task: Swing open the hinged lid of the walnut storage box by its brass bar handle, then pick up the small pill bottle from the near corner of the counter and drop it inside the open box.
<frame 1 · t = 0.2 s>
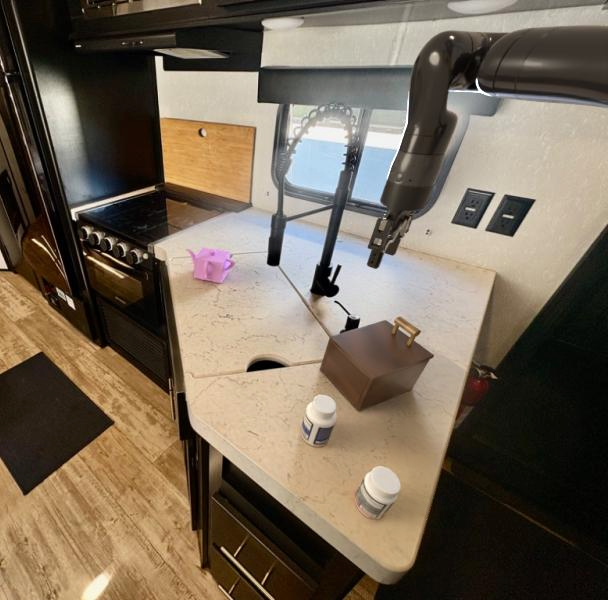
hand: (381, 260, 64), 26 cm above the worktop, tool pointing down, fingers open, 8 cm apart
lid: (383, 339, 65), point 12 cm above the worktop, hinge at 0.0°
pill bottle 2: (368, 503, 51), on the worktop
chest: (364, 379, 72), on the worktop
teapot: (210, 275, 111), on the worktop
pill bottle: (313, 434, 61), on the worktop
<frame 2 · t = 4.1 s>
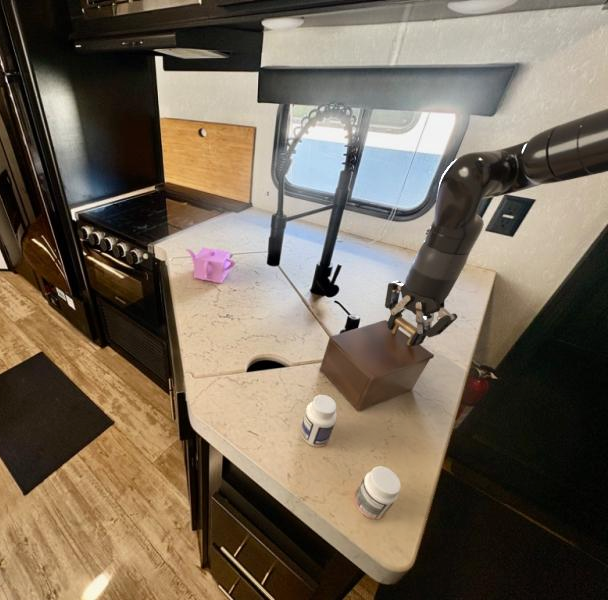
hand: (402, 335, 68), 12 cm above the worktop, tool pointing down, fingers closed on lid, 5 cm apart
lid: (383, 339, 65), point 12 cm above the worktop, hinge at 0.0°, touching gripper
everything else where it was.
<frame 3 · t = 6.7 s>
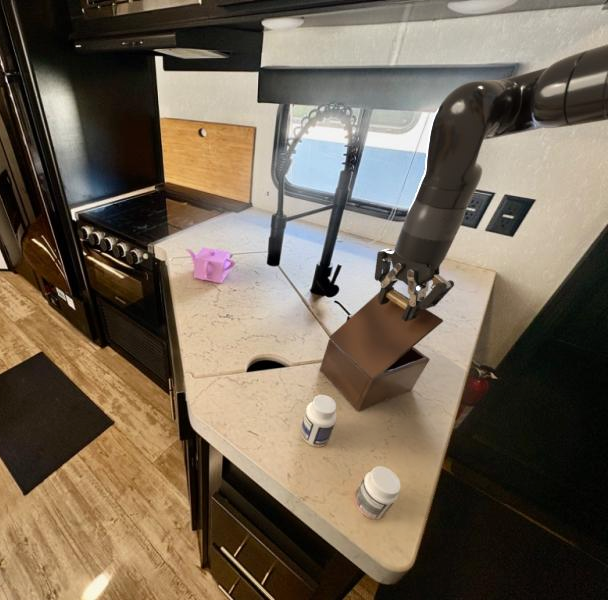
hand: (394, 310, 61), 20 cm above the worktop, tool pointing down, fingers closed on lid, 5 cm apart
lid: (377, 325, 61), point 17 cm above the worktop, hinge at 41.8°, touching gripper
everything else where it was.
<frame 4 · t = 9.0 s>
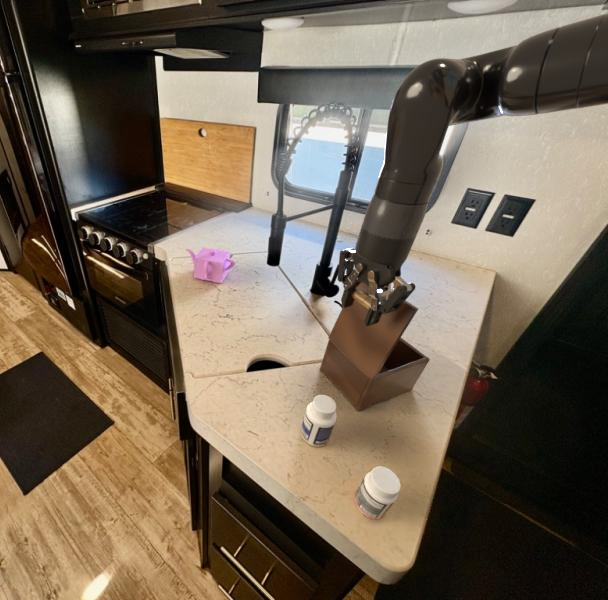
hand: (357, 314, 57), 22 cm above the worktop, tool pointing down, fingers closed on lid, 5 cm apart
lid: (358, 326, 59), point 19 cm above the worktop, hinge at 80.1°, touching gripper
everything else where it was.
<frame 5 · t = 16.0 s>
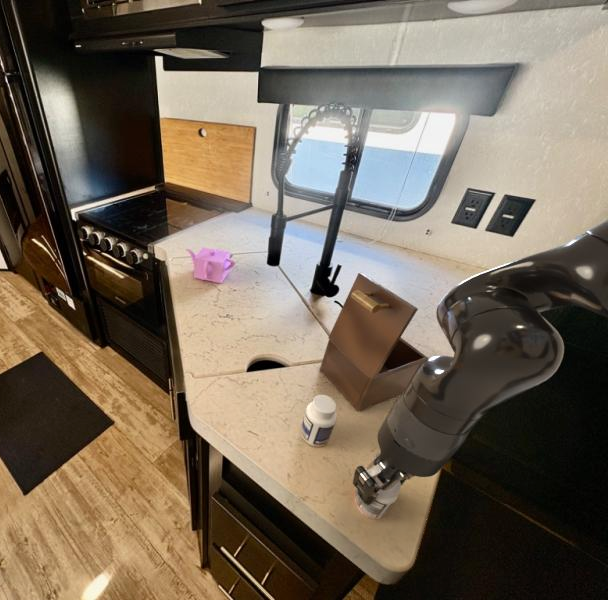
hand: (377, 491, 49), 4 cm above the worktop, tool pointing down, fingers closed on pill bottle 2, 4 cm apart
lid: (358, 326, 59), point 19 cm above the worktop, hinge at 80.4°
pill bottle 2: (368, 503, 51), on the worktop, touching gripper
everything else where it was.
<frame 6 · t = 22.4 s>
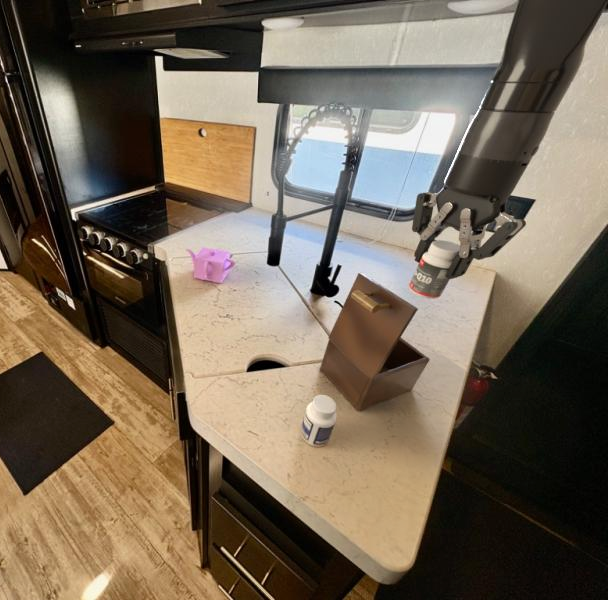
hand: (435, 268, 49), 33 cm above the worktop, tool pointing down, fingers closed on pill bottle 2, 4 cm apart
pill bottle 2: (423, 292, 52), point 28 cm above the worktop, touching gripper
everything else where it was.
when the fingers open (8 cm above the worktop, at t = 29.0 s): pill bottle 2 drops 3 cm, resting on chest.
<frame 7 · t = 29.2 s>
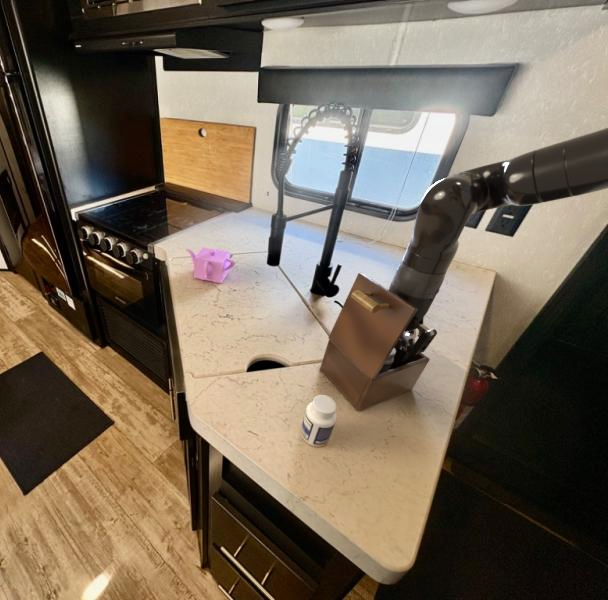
hand: (384, 349, 68), 9 cm above the worktop, tool pointing down, fingers open, 6 cm apart
pill bottle 2: (373, 374, 73), point 1 cm above the worktop, touching chest
everything else where it was.
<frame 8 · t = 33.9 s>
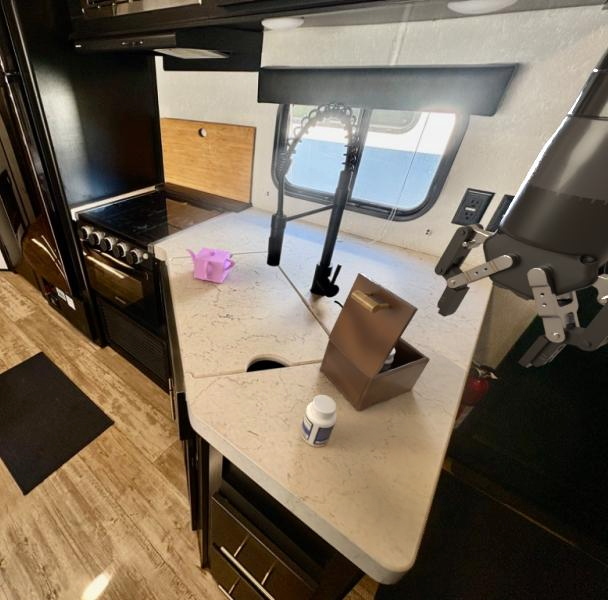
hand: (482, 336, 34), 34 cm above the worktop, tool pointing down, fingers open, 8 cm apart
nothing on the worktop moved.
at the end: lid at +80° (first picture: +0°); pill bottle 2 inside the target area in the chest (2.0 cm from its centre), point 0.6 cm above the chest's base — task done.
